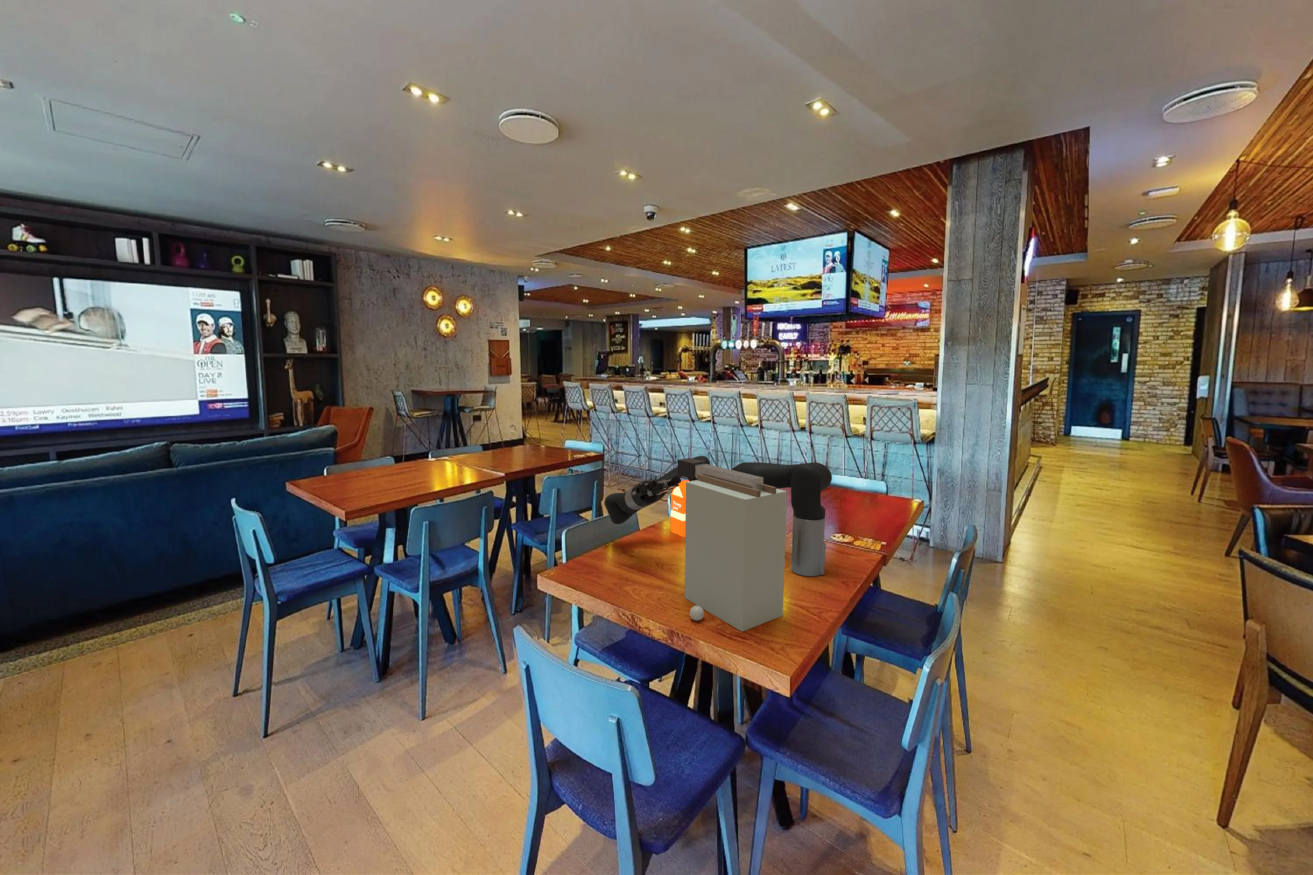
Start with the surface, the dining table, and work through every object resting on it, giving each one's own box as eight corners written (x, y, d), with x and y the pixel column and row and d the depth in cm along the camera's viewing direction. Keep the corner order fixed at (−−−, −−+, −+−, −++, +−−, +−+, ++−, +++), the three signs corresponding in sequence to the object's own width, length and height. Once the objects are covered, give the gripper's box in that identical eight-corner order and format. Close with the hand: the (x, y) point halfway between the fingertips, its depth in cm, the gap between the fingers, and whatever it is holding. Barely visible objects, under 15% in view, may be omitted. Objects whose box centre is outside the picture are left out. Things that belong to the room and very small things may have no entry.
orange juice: (701, 532, 196) (702, 480, 194) (683, 537, 191) (683, 483, 189) (689, 527, 203) (689, 476, 200) (670, 531, 198) (670, 479, 195)
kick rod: (677, 474, 148) (677, 459, 147) (689, 473, 151) (689, 457, 150) (751, 495, 125) (751, 477, 124) (764, 493, 127) (764, 475, 126)
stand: (683, 596, 142) (684, 475, 138) (722, 584, 150) (724, 469, 145) (742, 631, 124) (745, 493, 119) (782, 615, 132) (787, 485, 127)
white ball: (703, 616, 131) (704, 603, 131) (703, 623, 128) (704, 609, 127) (689, 615, 131) (690, 602, 131) (689, 622, 128) (689, 609, 128)
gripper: (618, 487, 164) (645, 472, 151) (655, 481, 172) (683, 465, 160) (625, 510, 162) (652, 497, 150) (662, 502, 171) (690, 489, 158)
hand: (668, 480), depth 155 cm, fingers open, 8 cm apart
